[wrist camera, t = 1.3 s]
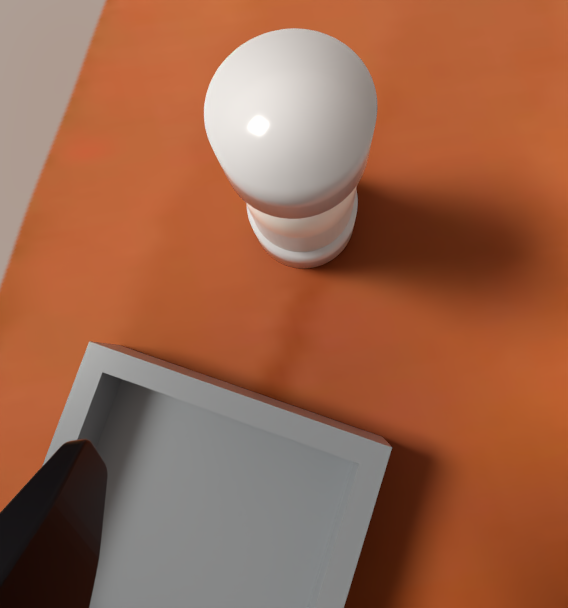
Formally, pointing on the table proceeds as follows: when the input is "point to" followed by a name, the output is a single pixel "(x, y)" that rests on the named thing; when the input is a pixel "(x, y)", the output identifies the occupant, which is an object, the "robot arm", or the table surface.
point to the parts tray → (218, 489)
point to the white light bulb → (294, 139)
